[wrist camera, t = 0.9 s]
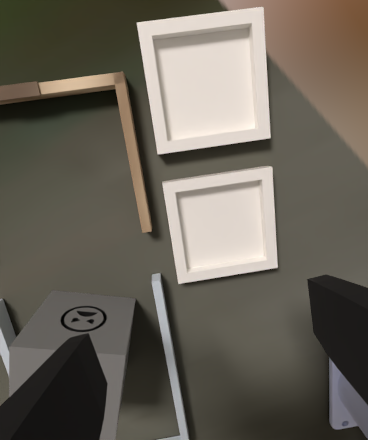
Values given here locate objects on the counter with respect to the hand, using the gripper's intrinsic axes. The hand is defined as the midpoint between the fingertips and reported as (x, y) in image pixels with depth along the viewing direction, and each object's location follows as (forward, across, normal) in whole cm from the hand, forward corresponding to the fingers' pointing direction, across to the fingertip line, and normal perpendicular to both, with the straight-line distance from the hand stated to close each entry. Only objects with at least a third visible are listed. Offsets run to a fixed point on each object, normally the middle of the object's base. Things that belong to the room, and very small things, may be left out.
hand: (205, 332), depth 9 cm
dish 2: (+8, -2, -1) cm, 8 cm away
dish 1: (+8, -3, -8) cm, 12 cm away
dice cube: (+8, +7, +4) cm, 12 cm away
